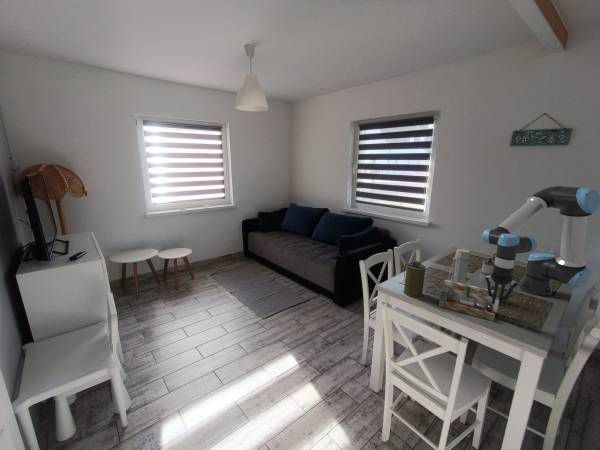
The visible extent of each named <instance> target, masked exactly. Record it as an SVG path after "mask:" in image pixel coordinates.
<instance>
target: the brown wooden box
mask: <svg viewBox="0 0 600 450" xmlns="http://www.w3.org/2000/svg"><path fill="white" fill-rule="evenodd" d="M468 288H470V291H469V297H471V298H474V303H477V304H481V305H484V306H488V304H489V305H493V307H494V304H492V297H491V296H489V294H488V288H484V287H483V288H482V287H478V286H475V285H470V284H467V283H465V284H461V283H457V282H452V281H450V280H449V279H443V285H442V287H441V291H440V297H439V302H438V304H439V305H438V306H439V307H441V308H445V309H448V310H452V311H455V312H458V313H459V312H460V313H463V314H466V315H471V316H474V317H477V318H481V319H485V320H488V321H492V322H494V321H495V316H496V313H495V312H494V311H493V308H492V312H488V311H487V309H485V308H481V307H477V306H473V308H471V307H467V306H464V305H460V299H461V295H462V296H466V297H467V294H468ZM493 292H494V290H492V289H491V293H492V294H493ZM496 297H497V298H498V294H497V295H496Z"/></svg>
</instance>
